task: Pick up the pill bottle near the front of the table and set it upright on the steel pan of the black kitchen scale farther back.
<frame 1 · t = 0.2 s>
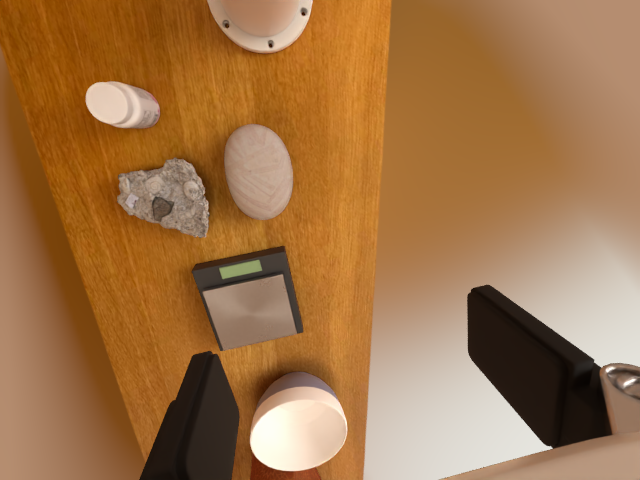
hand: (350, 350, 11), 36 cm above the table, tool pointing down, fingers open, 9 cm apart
scale pan: (252, 312, 47), point 3 cm above the table, slide at 0.0 cm
decorative stone: (260, 171, 44), on the table
book: (290, 461, 64), on the table
scale: (252, 295, 50), on the table
mineral specimen: (171, 193, 43), on the table
bowl: (296, 389, 58), on the table
pill bottle: (141, 109, 39), on the table
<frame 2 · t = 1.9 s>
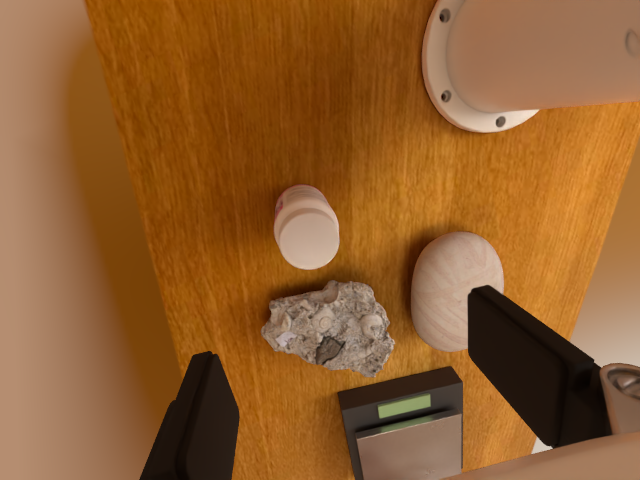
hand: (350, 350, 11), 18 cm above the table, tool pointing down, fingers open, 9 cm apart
scale pan: (411, 456, 36), point 3 cm above the table, slide at 0.0 cm
decorative stone: (440, 280, 32), on the table
scale: (399, 423, 38), on the table
mineral specimen: (322, 311, 31), on the table
pill bottle: (301, 209, 28), on the table
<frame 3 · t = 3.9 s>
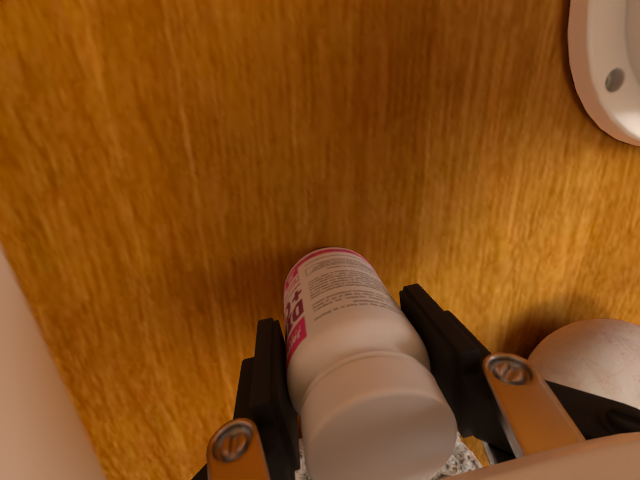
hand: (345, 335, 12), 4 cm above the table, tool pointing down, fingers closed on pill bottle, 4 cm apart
decorative stone: (546, 380, 20), on the table
mineral specimen: (359, 435, 19), on the table
pill bottle: (329, 286, 16), on the table, touching gripper
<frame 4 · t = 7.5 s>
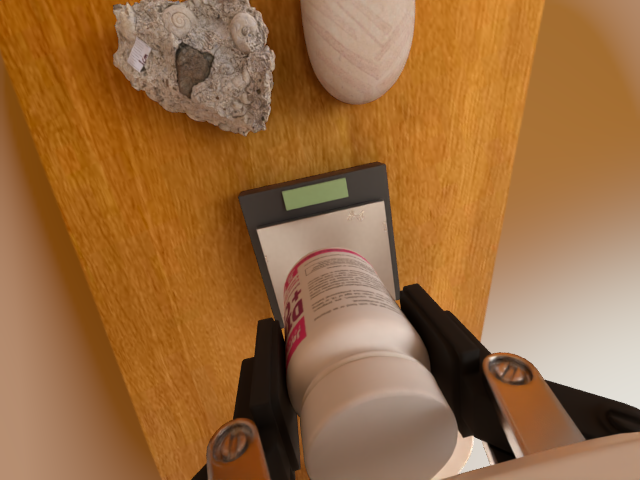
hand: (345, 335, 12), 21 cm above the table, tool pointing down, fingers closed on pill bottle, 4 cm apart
scale pan: (331, 266, 30), point 3 cm above the table, slide at 0.0 cm
decorative stone: (349, 26, 26), on the table
scale: (324, 244, 33), on the table
mineral specimen: (204, 62, 26), on the table
bowl: (375, 385, 41), on the table
pill bottle: (329, 286, 15), point 17 cm above the table, touching gripper
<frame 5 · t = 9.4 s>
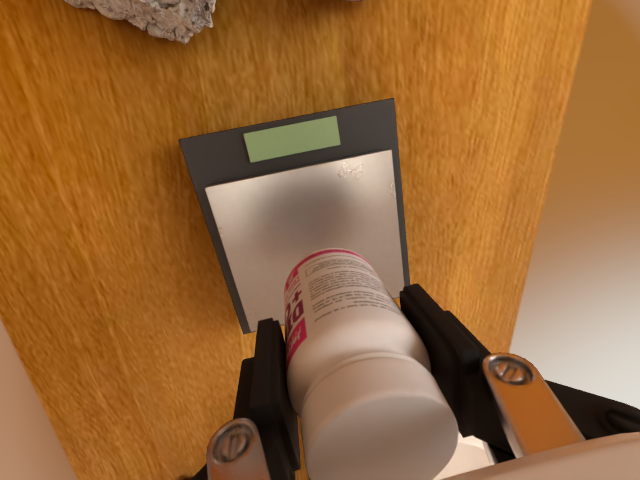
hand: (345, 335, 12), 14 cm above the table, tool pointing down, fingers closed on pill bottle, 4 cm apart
scale pan: (315, 245, 21), point 4 cm above the table, slide at 0.0 cm
scale: (307, 219, 24), on the table
bowl: (375, 406, 32), on the table
pill bottle: (329, 286, 15), point 10 cm above the table, touching gripper
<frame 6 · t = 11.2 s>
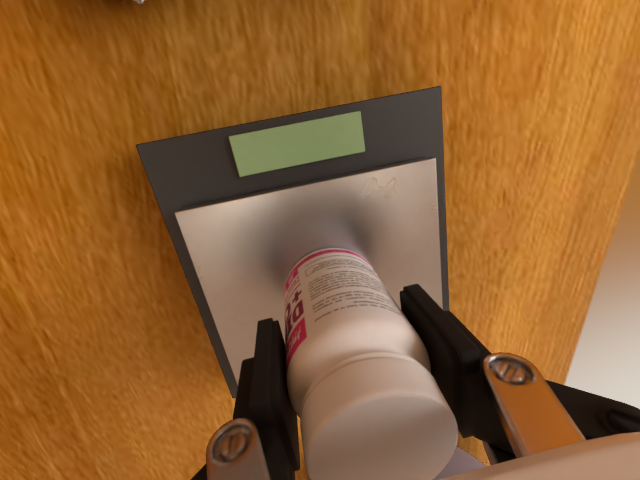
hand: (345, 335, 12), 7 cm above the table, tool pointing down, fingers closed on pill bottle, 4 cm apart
scale pan: (328, 286, 16), point 3 cm above the table, slide at -0.3 cm, touching pill bottle
scale: (317, 247, 18), on the table
bowl: (396, 466, 26), on the table
pill bottle: (329, 286, 15), point 3 cm above the table, touching gripper, scale pan
when the fingers open (7 cm above the table, at t = 11.2 s): pill bottle stays where it is, resting on scale pan.
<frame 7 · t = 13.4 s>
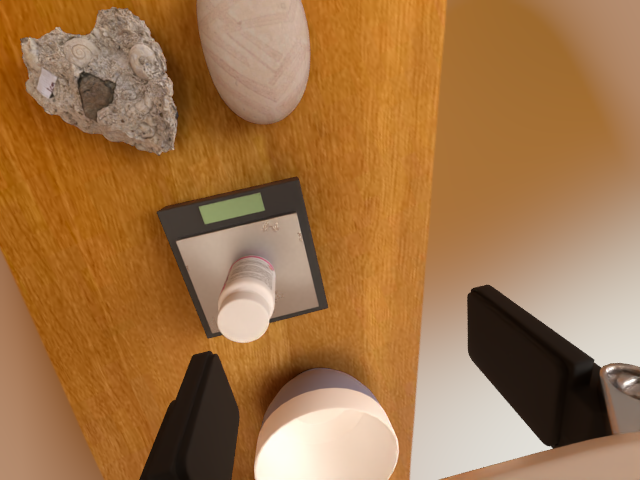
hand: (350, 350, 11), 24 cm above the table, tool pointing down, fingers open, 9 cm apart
scale pan: (252, 274, 32), point 3 cm above the table, slide at -0.6 cm, touching pill bottle
decorative stone: (258, 52, 28), on the table
scale: (252, 255, 34), on the table
mineral specimen: (120, 87, 27), on the table
bowl: (317, 393, 42), on the table
pill bottle: (252, 274, 31), point 3 cm above the table, touching scale pan
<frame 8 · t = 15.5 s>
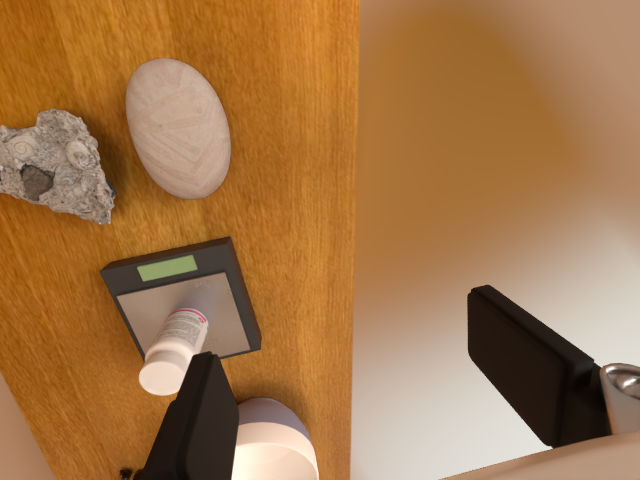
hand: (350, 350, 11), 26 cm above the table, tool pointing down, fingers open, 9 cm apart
scale pan: (188, 322, 36), point 3 cm above the table, slide at -0.6 cm, touching pill bottle
decorative stone: (190, 134, 32), on the table
scale: (192, 302, 38), on the table
mineral specimen: (66, 163, 31), on the table
bowl: (259, 418, 46), on the table
pill bottle: (188, 323, 35), point 3 cm above the table, touching scale pan
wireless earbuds: (142, 478, 47), on the table
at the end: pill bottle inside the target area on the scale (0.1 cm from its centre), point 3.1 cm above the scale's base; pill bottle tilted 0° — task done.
